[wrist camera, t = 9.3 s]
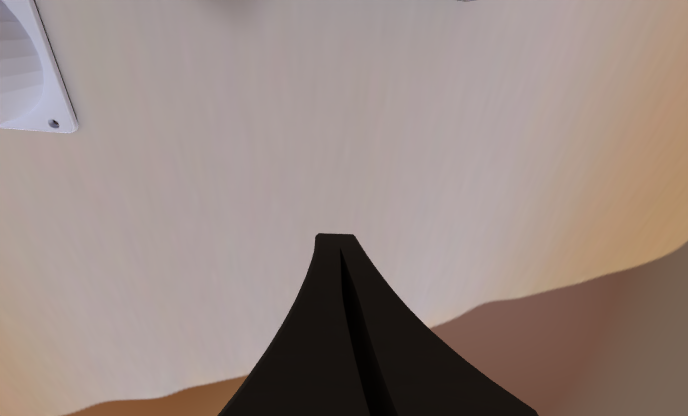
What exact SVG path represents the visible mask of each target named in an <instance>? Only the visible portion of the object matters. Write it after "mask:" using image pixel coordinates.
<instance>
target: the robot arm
mask: <svg viewBox="0 0 688 416" xmlns="http://www.w3.org/2000/svg"><path fill="white" fill-rule="evenodd" d="M53 120H55V121H57V122H58V124H59V126H57V125H56V124H55V123H54V122H53ZM0 128H6V129H19V130H32V131H45V132H58V133H72V132H74V131H76V130H77V129H78V123H77V120H76V117H75V114H74V111H73V109H72V106H71V103H70V100H69V98H68V95H67V92H66V89H65V86H64V84H63V81H62V78H61V75H60V72H59V70H58V67H57V64H56V61H55V59H54V56H53V53H52V50H51V47H50V45H49V42H48V39H47V36H46V34H45V31H44V28H43V25H42V22H41V20H40V17H39V14H38V11H37V8H36V6H35V3H34V0H0ZM218 416H538V414H537V412H536V411H535V410H534V409H532V408H531V407H529V406H528V405H526V404H525V403H523V402H522V401H520V400H519V399H518V398H516V397H515V396H513V395H512V394H511V393H509V392H508V391H506V390H505V389H503V388H502V387H501V386H499V385H498V384H496V383H495V382H493V381H492V380H490V379H489V378H488V377H486V376H485V375H484V374H483V373H481V372H480V371H479V370H477V369H476V368H475V367H474V366H472V365H471V364H470V363H468V362H467V361H466V360H465V359H463V358H462V357H461V356H460V355H458V354H457V353H456V352H455V351H454V350H453V349H451V348H450V347H449V346H448V345H447V344H446V343H445V342H443V341H442V340H441V339H440V338H439V337H438V336H436V335H435V334H434V333H433V332H432V331H431V330H430V329H429V328H428V327H427V326H426V325H425V324H424V323H423V322H422V321H421V320H420V319H419V318H418V317H417V316H416V315H415V314H414V313H413V312H412V311H411V310H410V309H409V308H408V307H407V306H406V305H405V303H404V302H403V301H402V300H401V299H400V298H399V297H398V295H397V294H396V293H395V292H394V291H393V289H392V288H391V287H390V286H389V285H388V283H387V282H386V281H385V279H384V278H383V277H382V275H381V274H380V273H379V271H378V270H377V269H376V267H375V266H374V265H373V263H372V262H371V260H370V259H369V257H368V256H367V254H366V253H365V251H364V250H363V248H362V247H361V245H360V244H359V242H358V240H357V239H356V237H355V236H354V235H353V234H324V233H319V234H317V235H316V237H315V248H314V253H313V257H312V261H311V263H310V266H309V269H308V272H307V275H306V277H305V280H304V282H303V284H302V286H301V289H300V291H299V293H298V295H297V298H296V300H295V302H294V304H293V306H292V307H291V309H290V311H289V313H288V315H287V317H286V318H285V320H284V322H283V324H282V325H281V327H280V329H279V330H278V332H277V334H276V335H275V337H274V339H273V340H272V342H271V343H270V345H269V347H268V348H267V350H266V351H265V353H264V354H263V356H262V357H261V358H260V360H259V361H258V363H257V364H256V366H255V367H254V368H253V370H252V371H251V373H250V374H249V376H248V377H247V378H246V380H245V381H244V383H243V384H242V385H241V387H240V388H239V389H238V391H237V392H236V393H235V394H234V396H233V397H232V398H231V399H230V401H229V402H228V403H227V405H226V406H225V407H224V408H223V409H222V411H221V412H220V413H219V414H218Z"/></svg>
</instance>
